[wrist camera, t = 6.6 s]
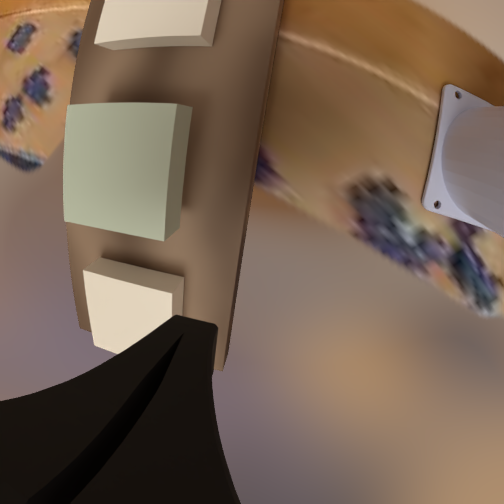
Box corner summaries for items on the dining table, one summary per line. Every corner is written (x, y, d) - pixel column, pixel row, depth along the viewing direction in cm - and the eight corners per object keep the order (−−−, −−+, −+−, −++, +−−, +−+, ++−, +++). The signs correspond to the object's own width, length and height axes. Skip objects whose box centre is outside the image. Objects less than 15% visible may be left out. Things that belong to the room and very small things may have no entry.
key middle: (192, 107, 13) (177, 103, 11) (179, 228, 15) (164, 241, 13) (90, 105, 13) (67, 105, 11) (85, 211, 15) (64, 221, 14)
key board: (289, -32, 12) (288, -48, 10) (227, 353, 22) (222, 371, 20) (116, -23, 13) (102, -32, 11) (92, 315, 23) (79, 327, 21)
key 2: (184, 277, 18) (172, 293, 16) (181, 352, 20) (172, 371, 18) (100, 257, 18) (82, 269, 16) (107, 329, 20) (94, 345, 19)
